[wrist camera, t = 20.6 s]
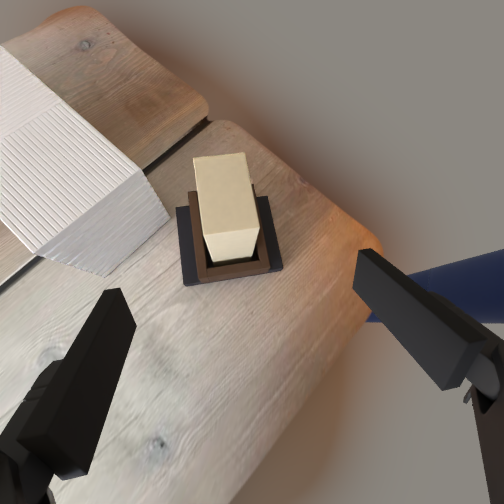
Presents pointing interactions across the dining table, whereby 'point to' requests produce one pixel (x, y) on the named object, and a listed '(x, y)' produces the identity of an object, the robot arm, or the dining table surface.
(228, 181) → the cream rectangular block
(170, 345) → the dining table surface
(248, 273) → the square socket base
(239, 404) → the dining table surface
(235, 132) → the dining table surface
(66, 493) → the dining table surface
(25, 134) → the stack of papers
